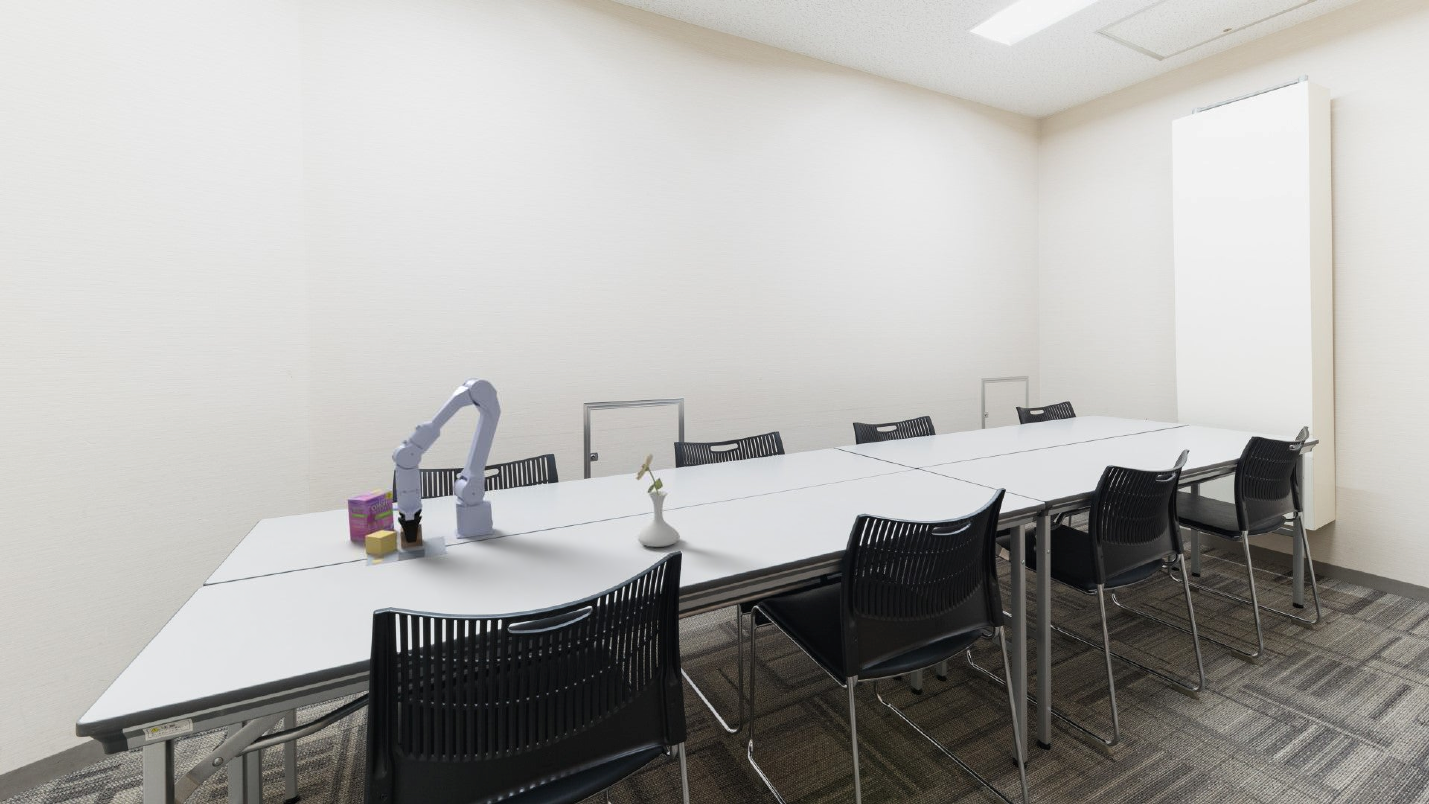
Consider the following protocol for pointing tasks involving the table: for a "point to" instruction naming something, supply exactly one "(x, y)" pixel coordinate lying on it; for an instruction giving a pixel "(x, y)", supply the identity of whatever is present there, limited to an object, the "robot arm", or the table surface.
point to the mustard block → (381, 542)
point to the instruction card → (410, 552)
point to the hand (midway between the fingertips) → (411, 539)
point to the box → (370, 514)
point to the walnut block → (413, 544)
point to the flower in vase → (656, 516)
